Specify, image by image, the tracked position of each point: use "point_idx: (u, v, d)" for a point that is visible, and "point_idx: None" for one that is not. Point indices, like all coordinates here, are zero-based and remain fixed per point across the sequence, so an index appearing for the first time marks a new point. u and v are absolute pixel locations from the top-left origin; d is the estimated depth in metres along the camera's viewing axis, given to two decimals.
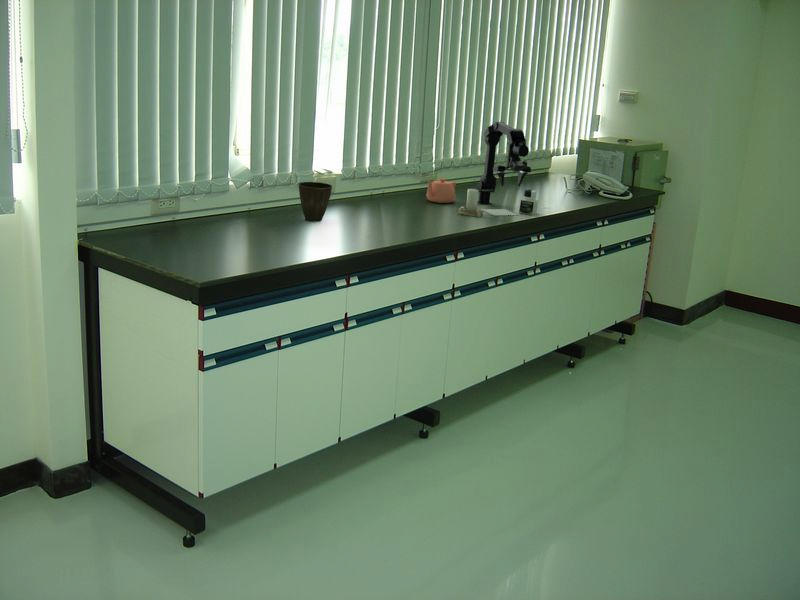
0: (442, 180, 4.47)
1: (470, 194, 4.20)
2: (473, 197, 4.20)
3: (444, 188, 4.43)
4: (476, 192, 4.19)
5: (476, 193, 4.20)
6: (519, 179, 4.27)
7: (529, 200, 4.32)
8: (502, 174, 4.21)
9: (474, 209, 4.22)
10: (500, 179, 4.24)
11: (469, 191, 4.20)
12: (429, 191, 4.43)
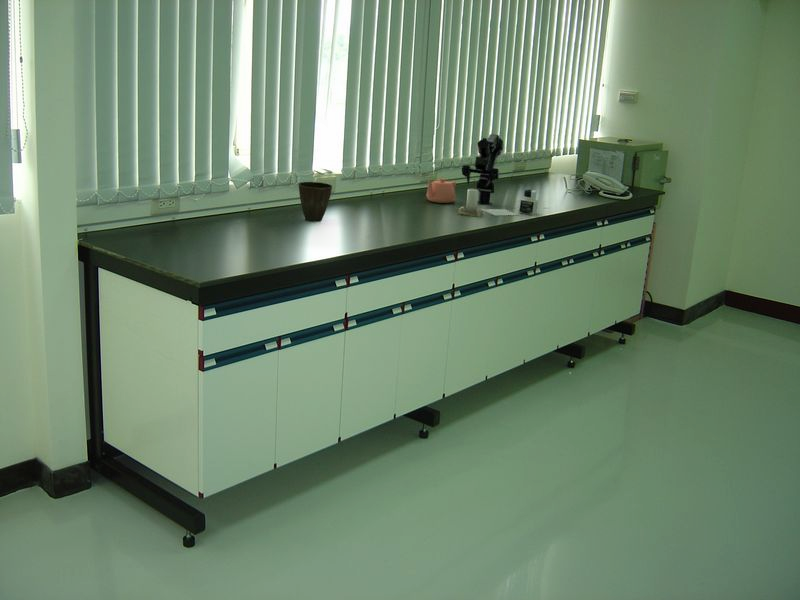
0: (442, 180, 4.47)
1: (470, 194, 4.20)
2: (473, 197, 4.20)
3: (444, 188, 4.43)
4: (476, 192, 4.19)
5: (476, 193, 4.20)
6: None
7: (529, 200, 4.32)
8: (466, 171, 4.30)
9: (474, 209, 4.22)
10: None
11: (469, 191, 4.20)
12: (429, 191, 4.43)
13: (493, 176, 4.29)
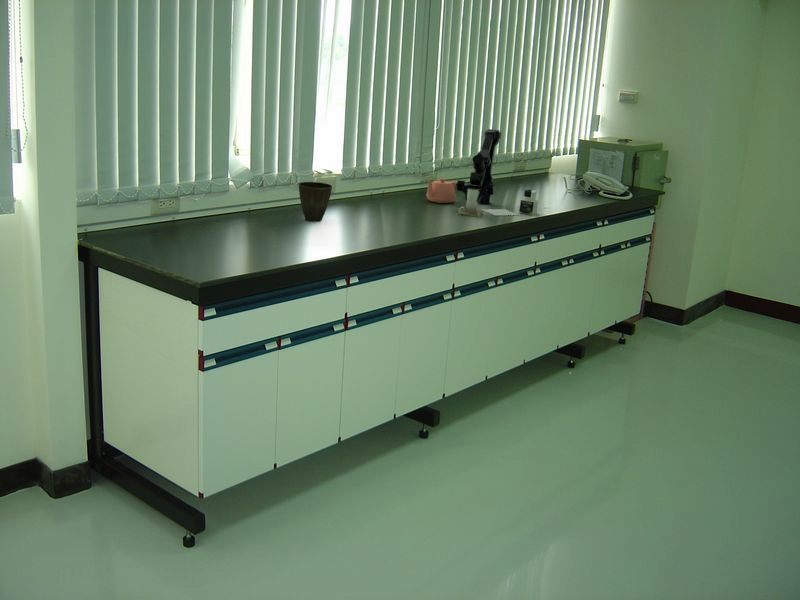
0: (442, 180, 4.47)
1: (470, 194, 4.20)
2: (473, 197, 4.20)
3: (444, 188, 4.43)
4: (476, 192, 4.19)
5: (476, 193, 4.20)
6: None
7: (529, 200, 4.32)
8: (464, 187, 4.23)
9: (474, 209, 4.22)
10: (465, 195, 4.24)
11: (469, 191, 4.20)
12: (429, 191, 4.43)
13: (485, 191, 4.23)
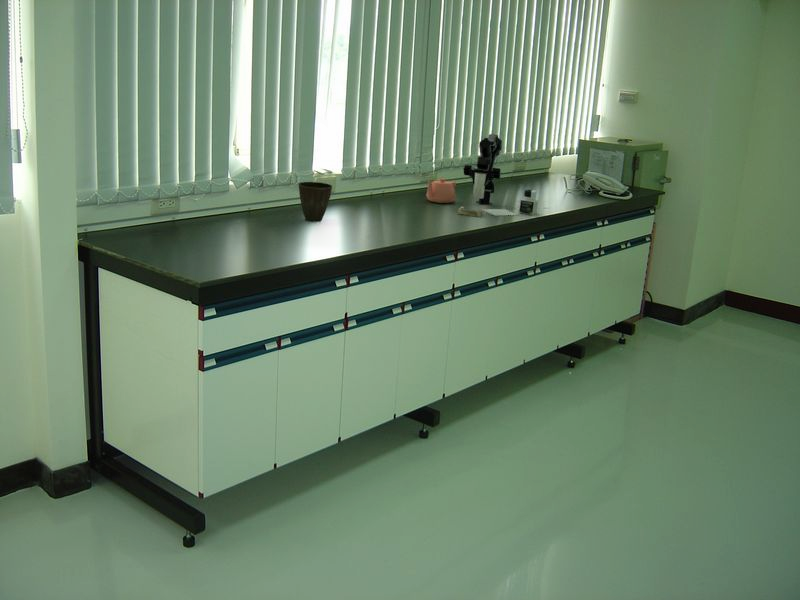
0: (442, 180, 4.47)
1: (478, 178, 4.26)
2: (481, 181, 4.26)
3: (444, 188, 4.43)
4: (483, 176, 4.26)
5: (483, 177, 4.26)
6: None
7: (529, 200, 4.32)
8: (472, 172, 4.30)
9: (482, 193, 4.28)
10: (472, 179, 4.31)
11: (477, 175, 4.26)
12: (429, 191, 4.43)
13: (492, 175, 4.30)
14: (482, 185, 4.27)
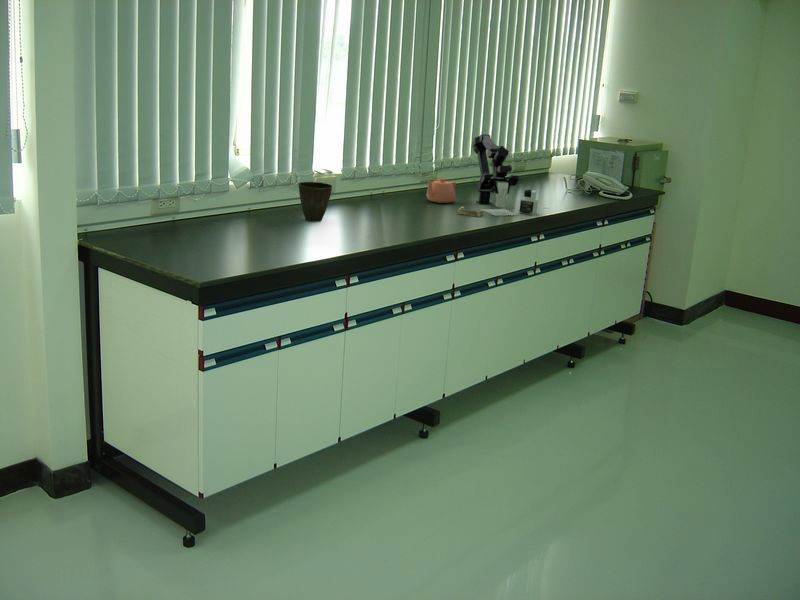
0: (442, 180, 4.47)
1: (503, 187, 4.26)
2: None
3: (444, 188, 4.43)
4: (507, 184, 4.27)
5: (507, 185, 4.27)
6: None
7: (529, 200, 4.32)
8: (493, 181, 4.28)
9: (505, 201, 4.29)
10: (493, 189, 4.29)
11: (501, 184, 4.25)
12: (429, 191, 4.43)
13: None
14: (506, 193, 4.28)
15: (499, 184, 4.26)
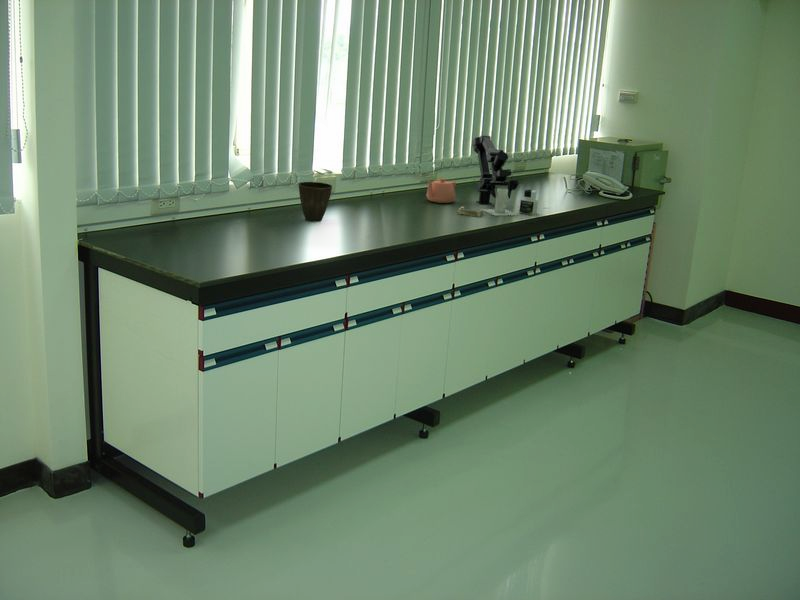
0: (442, 180, 4.47)
1: (502, 193, 4.26)
2: (505, 195, 4.27)
3: (444, 188, 4.43)
4: (507, 191, 4.28)
5: (507, 192, 4.28)
6: (508, 192, 4.31)
7: (529, 200, 4.32)
8: (491, 185, 4.28)
9: (505, 207, 4.30)
10: (491, 193, 4.29)
11: (501, 190, 4.26)
12: (429, 191, 4.43)
13: (512, 187, 4.33)
14: (506, 200, 4.29)
15: (499, 190, 4.27)
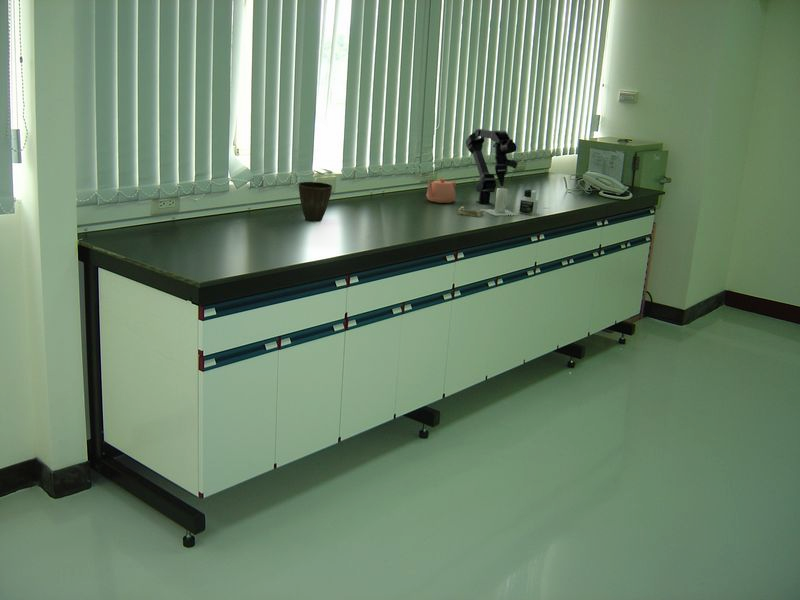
0: (442, 180, 4.47)
1: (502, 193, 4.27)
2: None
3: (444, 188, 4.43)
4: None
5: None
6: None
7: (529, 200, 4.32)
8: (505, 172, 4.32)
9: (505, 207, 4.30)
10: (500, 178, 4.34)
11: (501, 190, 4.26)
12: (429, 191, 4.43)
13: None
14: (505, 200, 4.29)
15: (498, 190, 4.27)
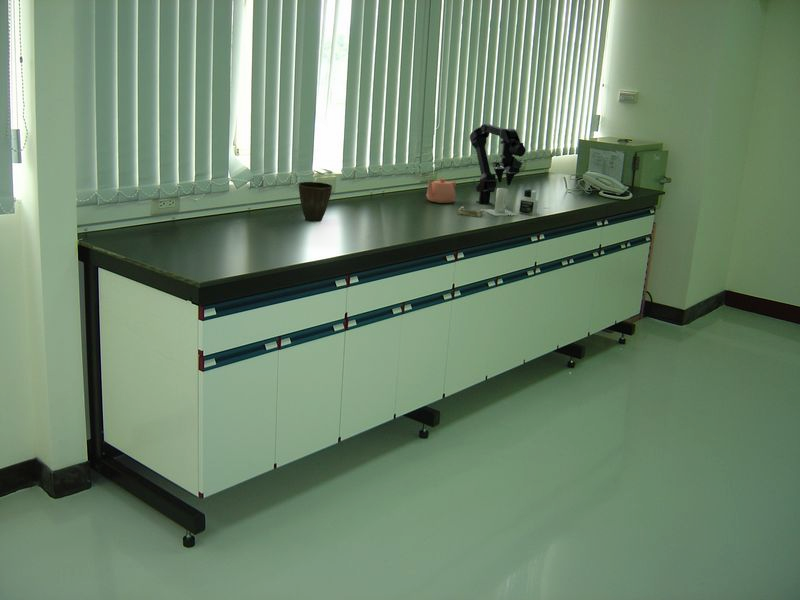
0: (442, 180, 4.47)
1: (502, 193, 4.27)
2: None
3: (444, 188, 4.43)
4: None
5: None
6: (500, 175, 4.44)
7: (529, 200, 4.32)
8: None
9: (505, 207, 4.30)
10: (509, 179, 4.34)
11: (501, 190, 4.26)
12: (429, 191, 4.43)
13: None
14: (505, 200, 4.29)
15: (498, 190, 4.27)
